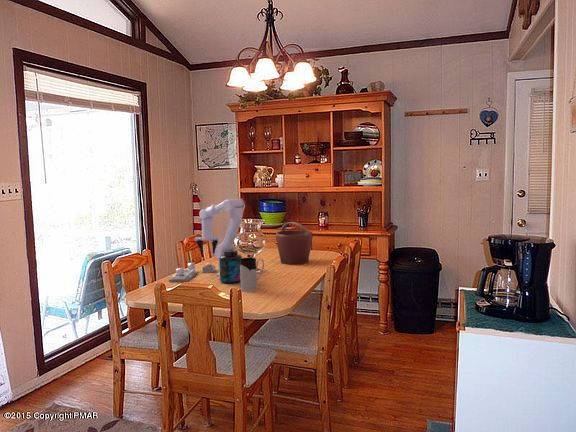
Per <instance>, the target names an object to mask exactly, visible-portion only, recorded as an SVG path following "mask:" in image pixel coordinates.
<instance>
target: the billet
mask: <svg viewBox="0 0 576 432" xmlns="http://www.w3.org/2000/svg"><path fill="white" fill-rule="evenodd" d="M187 270H194V271H196V264H195V262H188V263H187Z"/></svg>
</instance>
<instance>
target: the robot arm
mask: <svg viewBox="0 0 576 432" xmlns="http://www.w3.org/2000/svg"><path fill="white" fill-rule="evenodd" d="M245 208H246V204H245V201H244V200H243V198H233V199H229V198H228V199H225V200H223V201H222V202H221V203H218V204H213V203H212V204H211V206H207V207H206V208H205V209H203V208H202V209H200V211H199V212H198V213H199V214H198V215H199V218H200V219H201V233H202V234H201V237H200V236H196V237H194V242H196V244H197V246H198V248H199V250H200V254H204V242H211V245H212V254H213V255H214V256H215V258H216V259H217V261H218V272H217V273H216V274H215V275H218V276H219V277H220V266H219V257H220V256H221V255H223V251H224V250H236V246H235V244H234V241H235V239H236V237H237V234H238V230H239V228H240V226H241V223H242V220H243V217H244V216H243V214H244V211H245ZM224 210H225V211H226V213H227V215H228V217H229V218H230V220H229V223H228V227H227V230H226V231H225V233H224V234H225V236H224V238H223V240H222V242H221V237H220V236H219V237H218V236H213V220H214V217H215V216H218V215H219V214H221V212H222V211H224ZM219 242H221V243H220V244H218V243H219Z"/></svg>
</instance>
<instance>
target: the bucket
mask: <svg viewBox="0 0 576 432" xmlns="http://www.w3.org/2000/svg"><path fill="white" fill-rule="evenodd" d="M290 224H293V225H295V226H297V227H299V228H300V229H301V230H299V229H290V230H286V227H287V226H289V225H290ZM275 241H276V245H277V250H278V254H279V259H280V263H281V264H283V265H288V266H299V265H300V266H301V265H305V264H307V263H309V259H310V253H311V249H312V241H313V232H312V231H310V230H309V229H308V228H306V227H305V226H304V225H303V224H301V223H299V222H296V221H289V222H288V221H287V222H286V223H284V224H283V225H282V226H281V228H280V231H276V233H275Z"/></svg>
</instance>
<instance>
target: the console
mask: <svg viewBox="0 0 576 432" xmlns="http://www.w3.org/2000/svg"><path fill="white" fill-rule="evenodd" d="M215 271H216V264H211V267H206V264H205V265H204V266H202V273H214V272H215Z"/></svg>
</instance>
